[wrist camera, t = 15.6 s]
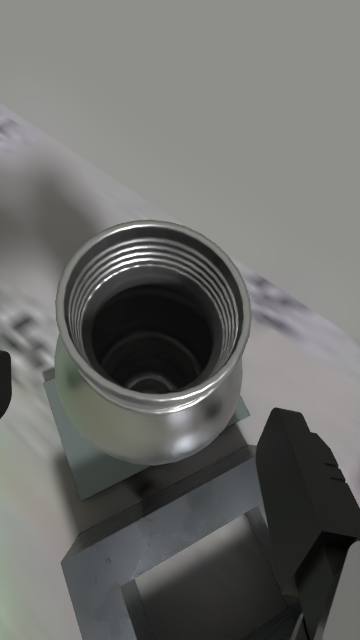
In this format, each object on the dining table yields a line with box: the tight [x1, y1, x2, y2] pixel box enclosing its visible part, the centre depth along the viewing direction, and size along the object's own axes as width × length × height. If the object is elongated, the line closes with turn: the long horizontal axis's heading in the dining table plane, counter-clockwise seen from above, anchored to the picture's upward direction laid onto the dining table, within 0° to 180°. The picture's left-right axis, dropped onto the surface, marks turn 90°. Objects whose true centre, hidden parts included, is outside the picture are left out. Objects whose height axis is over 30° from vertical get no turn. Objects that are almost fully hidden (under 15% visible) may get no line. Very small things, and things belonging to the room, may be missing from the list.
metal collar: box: [61, 445, 303, 640], centre depth 19 cm, size 14×13×5 cm
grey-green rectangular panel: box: [43, 378, 250, 501], centre depth 25 cm, size 14×9×1 cm, turn 114°
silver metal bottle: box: [55, 220, 251, 465], centre depth 15 cm, size 6×7×20 cm
